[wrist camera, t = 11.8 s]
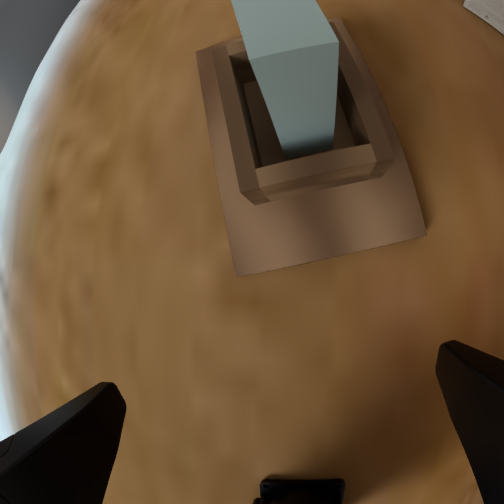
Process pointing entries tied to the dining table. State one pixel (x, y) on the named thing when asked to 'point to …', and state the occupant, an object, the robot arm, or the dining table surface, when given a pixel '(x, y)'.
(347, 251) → the board
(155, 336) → the dining table surface
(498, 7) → the small box
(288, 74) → the pale blue rectangular block
